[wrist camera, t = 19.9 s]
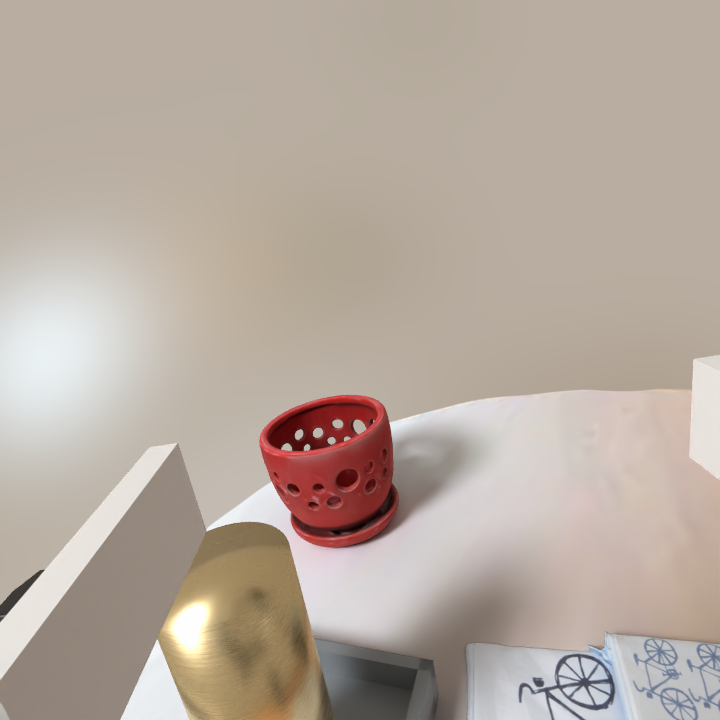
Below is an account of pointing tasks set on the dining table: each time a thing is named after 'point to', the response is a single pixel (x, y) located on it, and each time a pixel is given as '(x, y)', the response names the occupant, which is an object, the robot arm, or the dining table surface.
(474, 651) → the bicycle print cloth
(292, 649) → the cylinder
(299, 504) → the plant pot
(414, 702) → the slate tray
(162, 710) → the dining table surface
